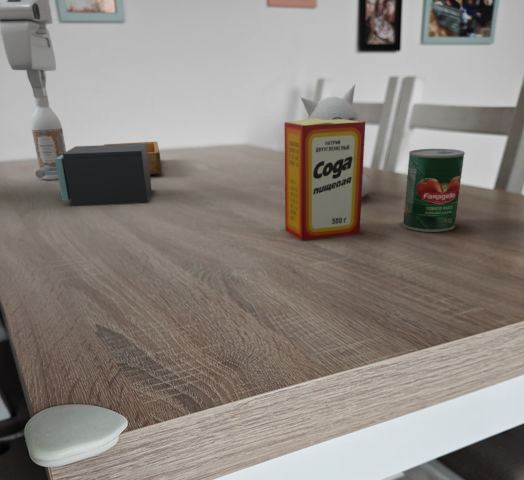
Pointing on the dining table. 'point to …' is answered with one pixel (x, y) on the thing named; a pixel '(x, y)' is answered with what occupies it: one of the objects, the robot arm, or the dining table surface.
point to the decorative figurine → (335, 115)
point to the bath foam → (47, 135)
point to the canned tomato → (432, 189)
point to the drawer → (61, 174)
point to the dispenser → (108, 174)
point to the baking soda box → (323, 177)
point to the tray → (150, 156)
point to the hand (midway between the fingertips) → (41, 97)
